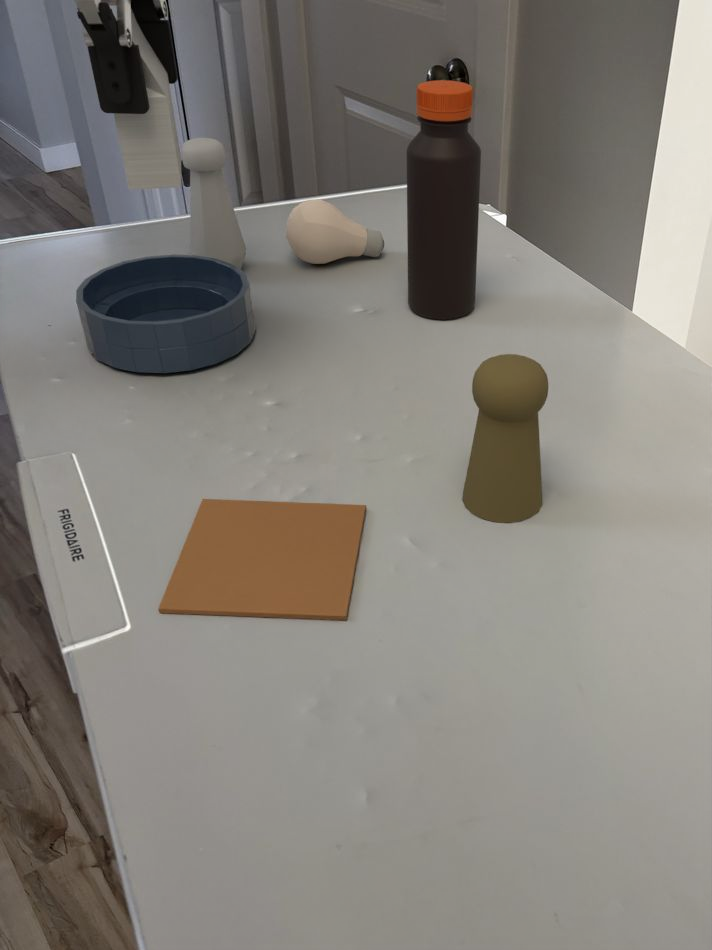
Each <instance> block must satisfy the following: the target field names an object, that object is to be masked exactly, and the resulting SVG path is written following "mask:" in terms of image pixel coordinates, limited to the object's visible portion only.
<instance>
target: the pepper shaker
mask: <svg viewBox="0 0 712 950" xmlns="http://www.w3.org/2000/svg"><path fill="white" fill-rule="evenodd" d="M471 393H472V397H473V401H474V403H475V405H476V406H477V408H478V413H477V418H476V423H475V428H474V432H473V433H474V434H473V438H472V443H471V449H470V454H469V460H468V464H467V470H466V475H465V480H464V486H463V491H462V497H461V498H462V499H461V500H462V502H463V505H464V507H465V509H467V510H468V511H469V512H470V513H471V514H472V515H474V516H476V517H478V518H480V519H481V520H486V521H489V522H490V521H491V522H494V523H505V524H506V523H508V524H509V523H515V522H523V521H524V520H527V519H529V518H532V517H533V516H535V515H536V514H537V513H538V512H540V510H541V508H542V506H543V505H544V503H543V501H544V500H543V481H542V460H541V446H540V445H541V443H540V442H541V441H540V423H539V412H540V411H541V410H542V409H543V407H544V405H545V403H546V402H547V398H548V394H549V379H548V374H547V372H546V371H545V369H544V367H543V365H541V364H540V363H539V362H537V361H536V360H535V359H532V358H530V357H528V356H525V355H520V354H515V353H505V354H504V353H503V354H497V355H494V356H491V357H488V358H487V359H485V360H483V361H482V362H481V363H480V364H479V366H478V367H477V369H476V370H475V371H474V374H473V377H472V384H471Z"/></svg>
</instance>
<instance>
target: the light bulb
mask: <svg viewBox="0 0 712 950" xmlns="http://www.w3.org/2000/svg"><path fill="white" fill-rule="evenodd" d="M285 228H286V229H285V238H286V240H287V243H288V245H289V247H290V249H291V251H292V252H293V254H295V255H296V256H297V258H298V259H300V260H301V261H304V262H307V263H309V264H311V265H320V264H321V265H323V264H325V265H326V264H328V263H330V262H334V261H336V260H340V259H343V258H346V257H360V256H366V257H371V258H378V257H379V256H380V254H381V253H382V252H383V251H384V248H385V240H384V238H383V234H382V232H381V231H380V230H373V229H370V228H365V226H364V225H363V224H360V223H358V222H354V221H353V220H352V219H350V218H349V217H347V216H346V215H345V214H344V213H343V212H341V211H340V210H339V209H338V208H337V207H336V206H335V205H333V204H332V203H330V202H327V201H325V200H323V199H307V200H305V201H302V202H300V203H298V204H297V205H296V206H295V207H294V208H293V209H291V211H290V213H289V216H288V218H287V220H286V227H285Z"/></svg>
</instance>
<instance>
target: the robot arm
mask: <svg viewBox="0 0 712 950" xmlns="http://www.w3.org/2000/svg"><path fill="white" fill-rule="evenodd" d="M73 1H74V3H75V5H76V6H77V8H76V10H77V11H76V14H77V18H78V19H79V20H80V22H81V24H82V34H83V41H84V43H85V45H86V47H87V51H88V56H89V60H90V61H89V62H90V67H91V71H92V75H93V80H94V84H95V85H94V86H95V89H96V94H97V100H98V103H99V107H100V110H101V111H102V113H105V114H114V113H119V114H145V113H146V112H147V111H148V110H149V101H148V95H147V89H146V84H145V78H144V73H143V67H142V62H141V56H140V50H139V45H132V25H131V9H132V11H133V14H134V16H135V19H136V21H137V23H138V25H139V27H140V29H141V31H142V33H143V34H144V36H145V38H146V40H147V41H148V43H149V45H150V46H151V48H152V49H153V51H154V53H155V54H156V56H157V57H158V59H159V61H160V62H161V64H162V65H163V67H164V69H165V70H166V72H167V74H168V80H169V85H174V84H175V83H177V81H178V80H179V74H178V69H177V61H176V55H175V48H174V42H173V37H172V30H171V29H172V28H171V23H170V20H169V19H168V18H169V9H168V8H169V7H168V3H167V0H73ZM111 6H113V7H114V6H115V7H116V16H115V14H114V12H113V9H112V8H111Z"/></svg>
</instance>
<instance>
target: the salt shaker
mask: <svg viewBox="0 0 712 950" xmlns="http://www.w3.org/2000/svg"><path fill="white" fill-rule="evenodd" d="M181 162H182V164H183V167H184V168H186V169H187V170H189V219H190V220H189V221H190V222H189V224H190V227H189V228H190V229H189V230H190V231H189V249H190V255H198V256H203V257H209V258H215V259H219V260H222V261H224V262H227V263H230V264H232V265H235V266H236V267H238V268H239V269H240V270H241V271H242V268H243V265H244V262H245V257H246V255H247V246H246V243H245V239H244V236H243V234H242V231H241V228H240V225H239V221H238V218H237V215H236V212H235V209H234V205H233V201H232V198H231V196H230V193H229V189H228V187H227V182H226V180H225V176H224V174H223V170H222V169H223V168H224V167H225V166H226V164H227V154H226V150H225V146H224V144H223V143H222V142H220V140H217V139H216V138H210V137H195V138H191V139H188V140H186V141H184V142H183V144H182V145H181Z"/></svg>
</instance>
